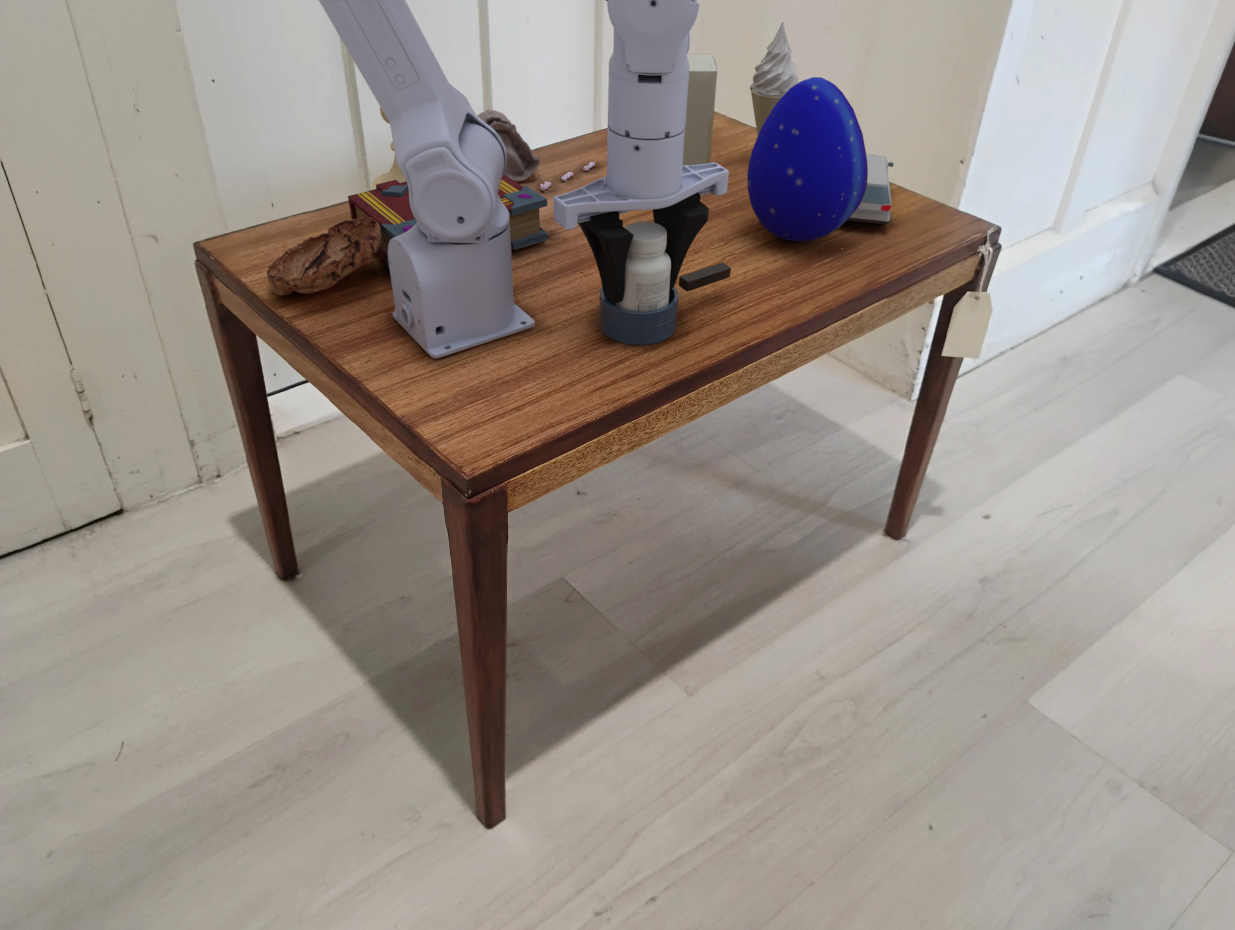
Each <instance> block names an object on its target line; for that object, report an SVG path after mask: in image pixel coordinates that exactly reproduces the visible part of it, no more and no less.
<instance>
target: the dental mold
mask: <svg viewBox="0 0 1235 930" xmlns="http://www.w3.org/2000/svg"><path fill="white" fill-rule="evenodd" d="M477 116H478V117H479V118H480V119H481V120H482V121H484V122H485V123H486V124H488V125H489V126H490V127H492V128H493V129H494V130H495V131H496V132H497V134H498V135H499V136H500V138H501V140H502V142H503V143H504V146H505V149H506V154H507V165H506V170H505V173H504V174H505V175H506V176H508V177H509V178H511V179H512V180H514V181H515V182H522V181H526V180H528V179H529V178H530V177H531V176H532V175H533V174H534V173H535V171H537V170H538V169H539V167H540V165H541V158H540V156H538V155H536V154H535V153H533V151H532V149H531V147H530V146H529V144H528V143H527V141H525V140H524V138H523V137H522V136H521V134H520V132H518V131H517V125H516V124H514V123H512V121H511V120H510V119H509V118H508V117H507V116H506V115H505V114H504V113H503V112H500V111H497V110H494V109H486V110H485V111H482V112H480V113H478V114H477Z"/></svg>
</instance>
